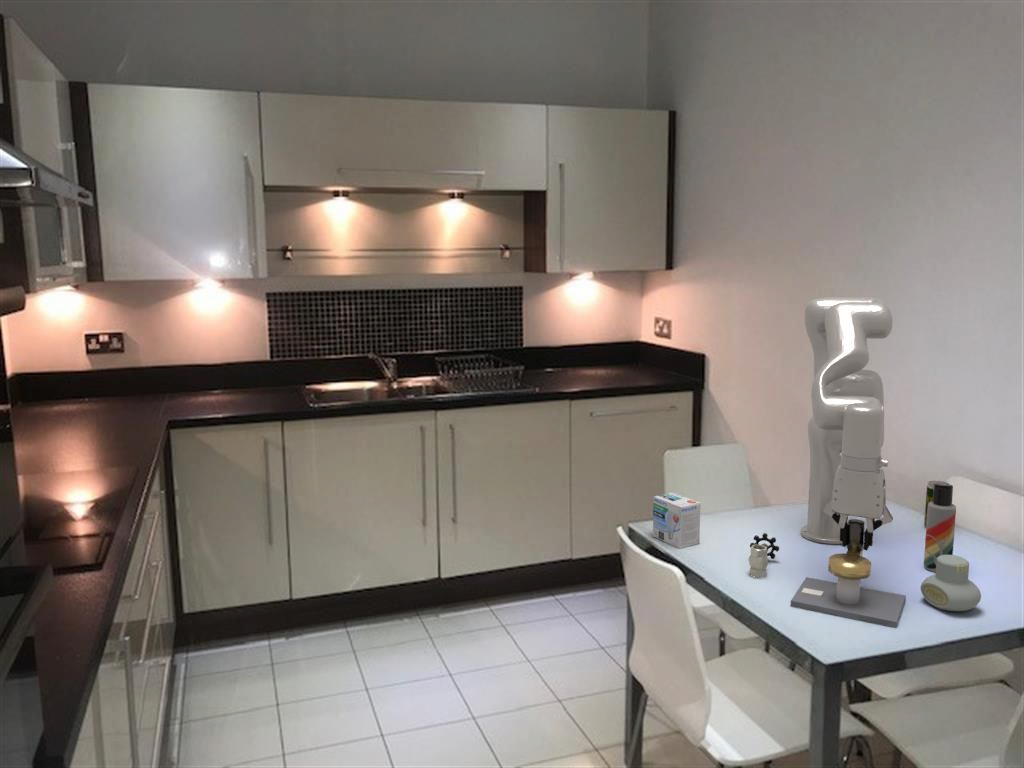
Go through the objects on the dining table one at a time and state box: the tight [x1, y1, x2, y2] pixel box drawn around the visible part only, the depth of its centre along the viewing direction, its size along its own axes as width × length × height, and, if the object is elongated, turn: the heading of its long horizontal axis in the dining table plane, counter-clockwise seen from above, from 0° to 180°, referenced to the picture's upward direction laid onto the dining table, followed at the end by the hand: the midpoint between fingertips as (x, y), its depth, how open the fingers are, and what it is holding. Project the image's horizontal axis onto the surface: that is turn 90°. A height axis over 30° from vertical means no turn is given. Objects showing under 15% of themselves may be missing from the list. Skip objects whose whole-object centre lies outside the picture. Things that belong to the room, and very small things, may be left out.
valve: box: [748, 532, 780, 578], centre depth 195 cm, size 7×7×12 cm
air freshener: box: [920, 555, 982, 612], centre depth 174 cm, size 11×8×10 cm
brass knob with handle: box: [828, 518, 872, 581], centre depth 176 cm, size 8×14×8 cm, turn 151°
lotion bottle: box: [923, 484, 957, 573], centre depth 192 cm, size 6×6×20 cm
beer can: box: [923, 480, 951, 529], centre depth 218 cm, size 5×5×12 cm
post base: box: [790, 576, 907, 629], centre depth 176 cm, size 14×20×7 cm
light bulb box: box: [652, 491, 701, 550], centre depth 213 cm, size 11×7×11 cm, turn 31°
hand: (855, 545), depth 180 cm, fingers open, 3 cm apart
